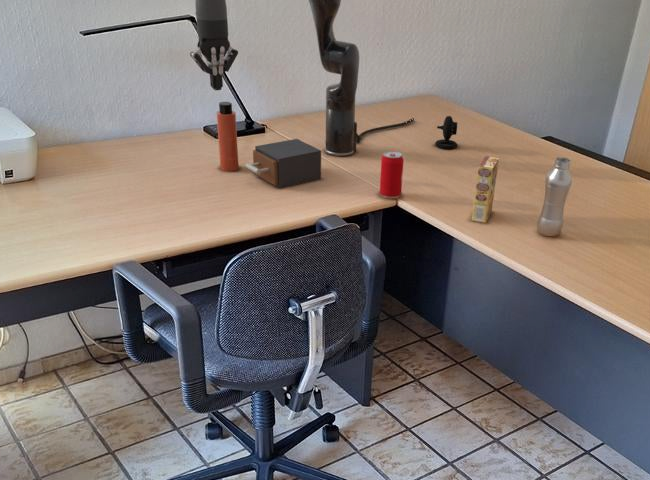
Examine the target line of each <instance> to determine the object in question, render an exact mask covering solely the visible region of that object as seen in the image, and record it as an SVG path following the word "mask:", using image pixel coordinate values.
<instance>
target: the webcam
mask: <svg viewBox="0 0 650 480" xmlns="http://www.w3.org/2000/svg"><path fill="white" fill-rule="evenodd" d="M436 128H437V129H439V130H442V135H443V139H437V140H436V141H435V147H437V148H439V149H442V150H453V149H456V148H457V147H458V143H457V142H456V141H454V140H452V139H451V138H452V136H453V135H454V136H456V135H457V132H458V122H457V121H454V120H453V118H452V116H451V115H446V116H445V118H444V120H443V125H437V127H436Z"/></svg>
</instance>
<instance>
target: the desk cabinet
mask: <svg viewBox="0 0 650 480" xmlns="http://www.w3.org/2000/svg"><path fill="white" fill-rule="evenodd" d="M254 148H255V149H254V150H257V151H259V152H261V153H264V154H266V155H268V156H269V157H271V158H273V159H275V160H277V162H278V185H274V186H275V187H276V188H278V189H283V188H288V187H292V186H297V185H301V184H306V183H310V182H316V181H319V180H320V181H321V180H322V150H321V149H319V148H317V147H315V146H313V145H310V144H309V143H307V142H305V141H302V140H301V139H298V138H293V139H287V140H283V141H277V142H276V141H275V142H272V143H271V142H270V143H265V144H260V145H255V147H254ZM256 176H258V175H256ZM258 177H259V176H258ZM263 180H264V181H266V180H265V179H263ZM268 183H269V184H271V183H270V182H268Z"/></svg>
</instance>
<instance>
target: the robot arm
mask: <svg viewBox="0 0 650 480" xmlns="http://www.w3.org/2000/svg"><path fill="white" fill-rule="evenodd" d="M341 3H342V0H308V4H309V7H310V10H311V14H312V18H313V23H314V27H315V32H316V38H317V46H318V47H317V48H318V52H319V59H320V63H321V66H322V68H323V69H324V70H325V71H326V72H327V73H331V74H336V75H340V79H339V82H338V83H334V84H330V85H327V87H326V89H325V140H324V145H325V147H324V152H325V153H326V154H328V155H330V156H334V157H348V156H352V155H353V154H354V153H356V152H357V144H359V143H360V142H361V138H362V137H363V136H364V135H367V134H369V133H373V132H376V131H382V130H389V129H393V128H397V127H403V126H406V125H408V124H411V123H412V122H415V118H414V117H412V118H410V119H408V120H407V121H403V122H400V123H395V124H388V125H384V126H378V127H373V128H370V129H367V130H364V131H362V132H360V134H358V122H357V121H356V120H355V118H356V93H357V89H358V83H359V68H360V51H359V47H358V46H357V45H356V44H355V43H352V42H347V41H341V40H337V39H336V37H335V32H334V23H335V19H336V17H337V14H338V12H339V11H340V7H341ZM194 4H195V17H196V30H197V38H198V41H197V45H196V46H197V47H196V49H195V50H194V51H191V52H190V53H189V56H190V57H191V58H192V60H193V61H194V62H195V63H196V65H197V66H198V67H199V68H200V69H201V71H202V72H203V73H206V74H208V75H209V84H210V87H211V89H213V90H214V91H221V90H222V88H223V86H224V83H223V74H225V72H229V71H230V69H231V67H232V65H233V63H234V62H235V60H236V58H237V56H238V54H239V51H238V50H237V49H236V48H233V47H232V46H231V43H230V41H229V40H230V39H229V23H228V7H227V1H226V0H195V3H194ZM203 57H204V58H205V61H204V60H203V59H202V58H203ZM412 119H413V120H412ZM410 120H411V121H410ZM406 122H407V123H406Z"/></svg>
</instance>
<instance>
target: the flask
mask: <svg viewBox="0 0 650 480" xmlns="http://www.w3.org/2000/svg"><path fill="white" fill-rule="evenodd" d="M218 108H219V109H218V111H216V113H215V114H216V125H217V127H216V128H217V139H218V152H219V165H220V170H221V171H223V172H229V173H230V172H237V171H238V170H239V169H240V163H239V149H238V134H237V133H238V132H237V118H236V117H237V116H236V111H234V110H233V104H232V102H230V101H220V102H219V103H218Z"/></svg>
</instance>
